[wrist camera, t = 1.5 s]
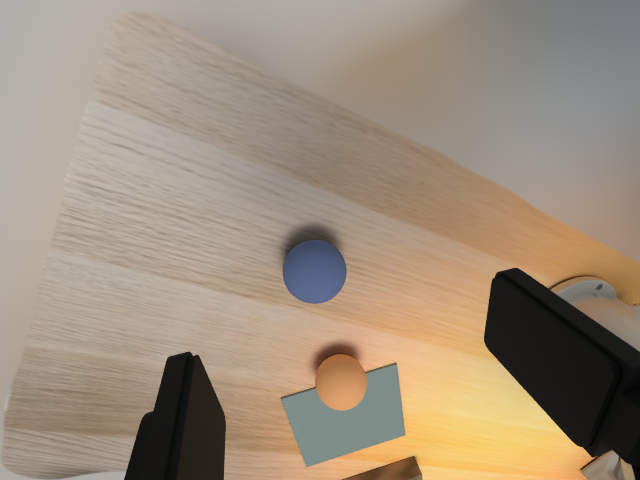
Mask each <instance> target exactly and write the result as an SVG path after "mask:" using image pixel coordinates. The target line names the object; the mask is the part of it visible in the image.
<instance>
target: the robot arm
mask: <svg viewBox="0 0 640 480" xmlns="http://www.w3.org/2000/svg"><path fill="white" fill-rule="evenodd" d="M484 342H485V345H486V347H487V348H488V350H489V351H490V352H491V353H492V354H493V355H494V356H495V357H496V358H497V359H498V361H499V362H500V363H501V364H502V365H503V366H504V367H505V368H506V369H507V370H508V372H509V373H510V374H511V375H512V376H513V377H514V378H515V379H516V380H517V381H518V382H519V384H520V385H521V386H522V387H523V388H524V389H525V390H526V391H527V392H528V393H529V395H530V396H531V397H532V398H533V399H534V400H535V401H536V402H537V403H538V404H539V406H540V407H541V408H542V409H543V410H544V411H545V412H546V413H547V414H548V415H549V416H550V418H551V419H552V420H553V421H554V422H555V423H556V424H557V425H558V426H559V427H560V429H561V430H562V431H563V432H564V433H565V434H566V435H567V436H568V437H569V438H570V439H571V441H572V442H574V443H575V444H576V445H578V446H580V447H583V448H584V449H585V450H586V451H587V452H588V453H589V454H590V456H591V457H592V458H593V457H595V456H598V455H601V454H604V453H607V452H610V450H611V449H612V450H613V451H614V452H615V453H616V454H617V455H618V456H619V457H620V460H621V464H622V468H623V473H624V477H625V480H640V303H637V304H634V305H633V306H629V305H627V304H626V303H624V302H622V301H621V300H619V299H618V297H617V293H616V291H615V289H614V288H613V286H612V285H611V284H609V283H607V282H605V281H604V280H602V279H600V278H597V277H591V276H585V277H577V278H574V279H571V280H567V281H565V282H563V283H561V284H559V285H557V286H555V287H554V288H552V289H550V290H549V289H548V288H547V287H545V286H544V285H542V284H541V283H539V282H538V281H536V280H535V279H533V278H532V277H530V276H529V275H528V274H526V273H525V272H523V271H522V270H520V269H518V268H512V269H508V270H504V271H500V272H497V274H496V275H495V278H493V279H492V284H491V291H490V298H489V305H488V313H487V320H486V327H485V334H484ZM225 431H226V422H225V415H224V412H223V410H222V407H221V405H220V403H219V400H218V398H217V396H216V393H215V391H214V389H213V387H212V384H211V382H210V380H209V377H208V375H207V373H206V370H205V368H204V366H203V364H202V361H201V359H200V357H199V355H195V356H193V355H192V353H191V352H185V353H182V354H178V355H174V356H170V357H168V358H167V361H166V365H165V369H164V372H163V376H162V380H161V384H160V388H159V392H158V396H157V400H156V404H155V408H154V411H152V412H149V413H147V414H145V415H144V417H143V418H142V420H141V423H140V426H139V430H138V433H137V436H136V440H135V443H134V447H133V450H132V454H131V457H130V461H129V464H128V468H127V471H126V475H125V479H124V480H224V456H225Z"/></svg>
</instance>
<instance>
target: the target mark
mask: <svg viewBox="0 0 640 480" xmlns="http://www.w3.org/2000/svg"><path fill="white" fill-rule="evenodd" d="M365 374H366V378H367V389H366V393H365V395H364V397H363V399H362V400H361V402H360V403H359V404H358V405H357V406H355V407H354V408H352V409H349V410H345V411H339V410H334V409H332V408H330V407H328V406H327V405H325V404H324V403H323V401H322V400H321V399H320V397H319V395H318V393H317V390H316V387H315V388H312V389H309V390H305V391H302V392H299V393H295V394H292V395H289V396H285V397H282V398H281V401H282V404H283V406H284V409H285V411H286V414H287V417H288V419H289V422H290V425H291V427H292V430H293V433H294V435H295V438H296V441H297V443H298V446H299V448H300V451H301V454H302V456H303V459H304V462H305V464H306V467H309V466H312V465H315V464H318V463H321V462H324V461H327V460H330V459H333V458H336V457H340V456H343V455H346V454H349V453H352V452H355V451H358V450H361V449H364V448H367V447H370V446H374V445H377V444H380V443H383V442H386V441H389V440H392V439H395V438H398V437H401V436H405V428H404V420H403V411H402V403H401V394H400V386H399V377H398V369H397V363H394V364H391V365H388V366H385V367H381V368H378V369H375V370H371V371H368V372H365Z"/></svg>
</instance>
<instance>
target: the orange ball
mask: <svg viewBox="0 0 640 480" xmlns="http://www.w3.org/2000/svg"><path fill="white" fill-rule="evenodd" d="M315 386H316V390H317V393H318V395H319V397H320V399H321V400H322V401H323V403H324V404H325V405H327V406H328V407H330V408H332V409H334V410H339V411H345V410H349V409H352V408H354V407H355V406H357V405H358V404H359V403H360V402H361V400H362V399H363V397H364V395H365V393H366V389H367V378H366V374H365V371H364V369H363V367H362V366H361V364H360V363H359V362H358V361H357V360H355V359H354V358H353V357H350V356H348V355H343V354H338V355H333V356H331V357H329V358H327V359H326V360H324V361H323V362H322V364H321V365H320V366H319V368H318V370H317V373H316V378H315Z"/></svg>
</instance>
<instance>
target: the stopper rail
mask: <svg viewBox="0 0 640 480" xmlns="http://www.w3.org/2000/svg"><path fill="white" fill-rule="evenodd" d="M344 480H422V473H421V471H420V469H419V466H418V464H417V462H416V460H415V457H414V456H413V457H410V458H407V459H404V460H401V461H398V462H395V463H392V464H389V465H386V466H383V467H380V468H377V469H374V470H371V471H368V472H365V473H362V474H359V475H356V476H353V477H350V478H347V479H344Z"/></svg>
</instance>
